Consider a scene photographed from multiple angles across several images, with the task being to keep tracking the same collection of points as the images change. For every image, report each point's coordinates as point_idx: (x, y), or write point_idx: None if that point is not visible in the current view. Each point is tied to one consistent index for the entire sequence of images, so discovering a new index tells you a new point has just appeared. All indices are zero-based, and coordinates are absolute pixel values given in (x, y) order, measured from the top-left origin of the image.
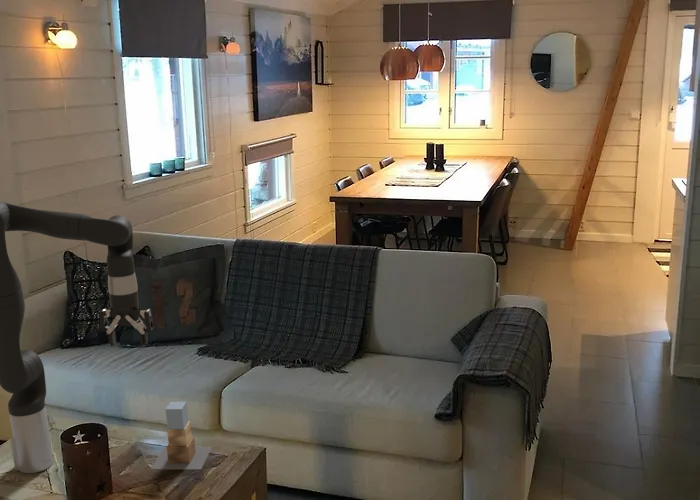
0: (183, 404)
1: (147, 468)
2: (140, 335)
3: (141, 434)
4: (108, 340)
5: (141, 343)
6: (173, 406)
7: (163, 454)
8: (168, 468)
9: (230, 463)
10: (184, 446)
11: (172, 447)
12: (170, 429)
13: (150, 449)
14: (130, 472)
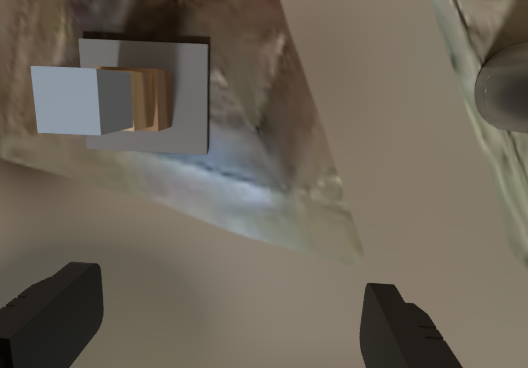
0: (39, 107)
1: (222, 62)
2: (10, 329)
3: (288, 227)
4: (435, 327)
5: (71, 274)
6: (73, 92)
7: (197, 116)
8: (162, 45)
9: (24, 79)
10: (106, 69)
11: (140, 68)
12: (121, 71)
13: (243, 154)
14: (259, 43)
